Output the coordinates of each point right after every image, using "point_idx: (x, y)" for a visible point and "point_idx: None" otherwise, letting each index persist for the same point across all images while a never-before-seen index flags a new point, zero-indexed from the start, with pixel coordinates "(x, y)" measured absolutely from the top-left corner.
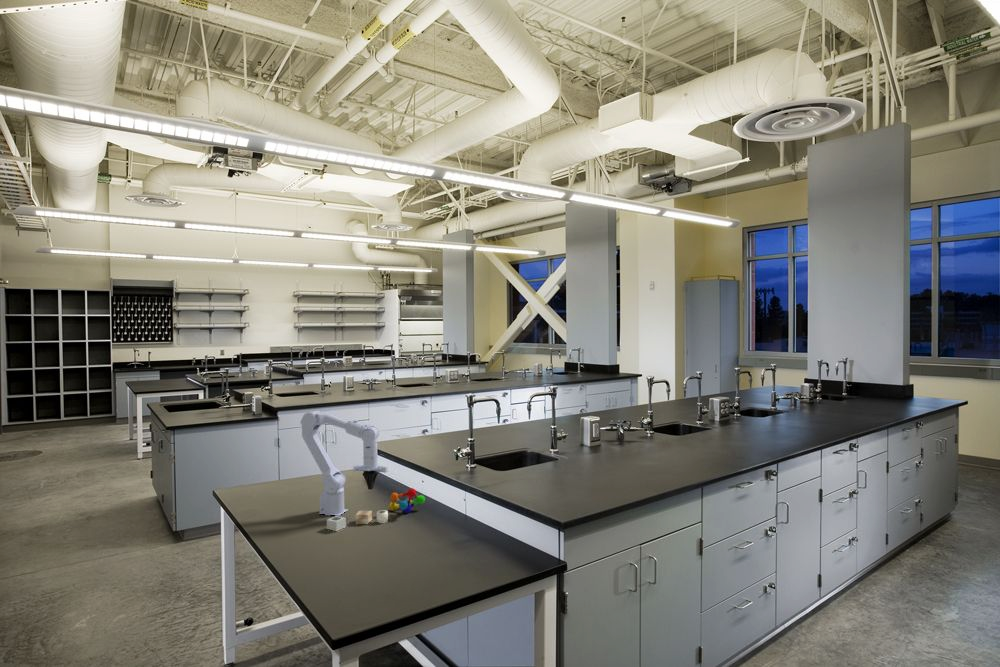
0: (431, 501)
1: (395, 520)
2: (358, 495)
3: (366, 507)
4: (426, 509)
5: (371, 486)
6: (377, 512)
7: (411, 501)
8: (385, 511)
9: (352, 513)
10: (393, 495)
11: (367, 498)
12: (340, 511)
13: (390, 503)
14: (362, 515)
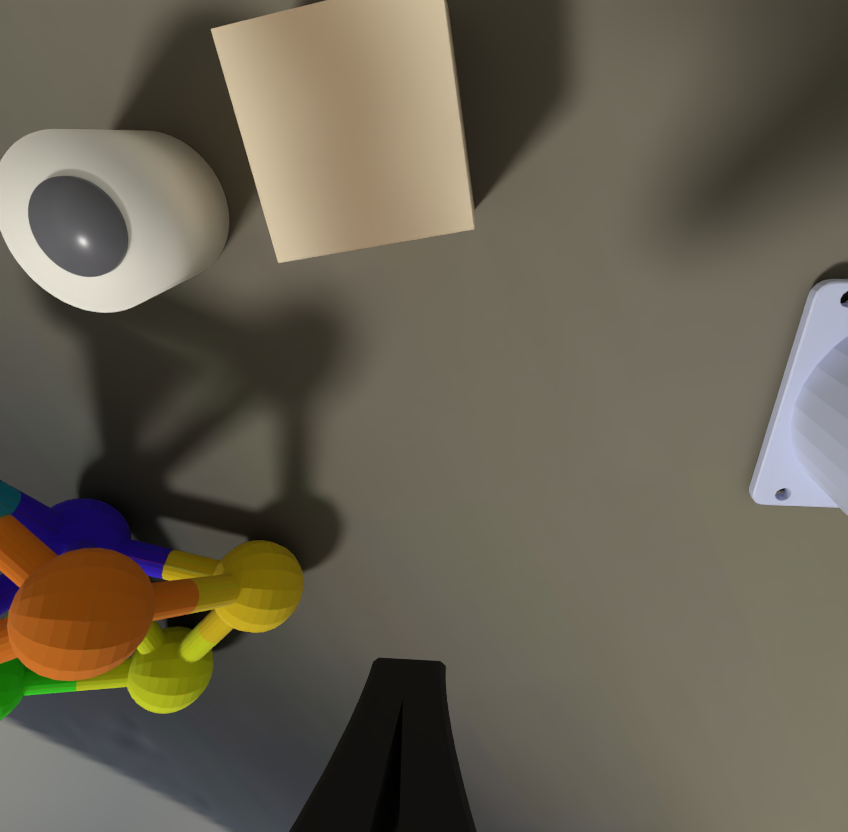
0: (109, 755)
1: None
2: (764, 825)
3: (574, 598)
4: None
5: (355, 721)
6: (133, 185)
7: (109, 675)
8: (55, 261)
9: (663, 420)
10: (39, 602)
11: (656, 778)
12: (833, 370)
13: (263, 601)
14: (317, 8)
